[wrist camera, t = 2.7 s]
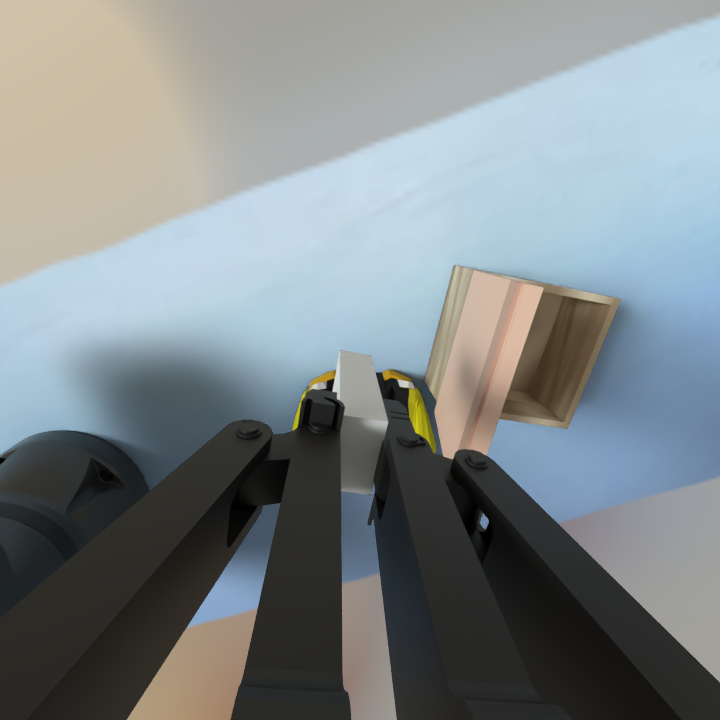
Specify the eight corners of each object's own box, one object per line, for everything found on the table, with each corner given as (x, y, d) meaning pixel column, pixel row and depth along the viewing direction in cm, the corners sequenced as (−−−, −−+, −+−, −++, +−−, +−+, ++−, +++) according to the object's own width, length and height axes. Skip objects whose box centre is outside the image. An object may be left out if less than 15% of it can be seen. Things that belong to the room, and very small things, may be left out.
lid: (443, 413, 31) (431, 411, 31) (484, 272, 27) (471, 269, 27) (468, 509, 20) (449, 505, 20) (543, 287, 16) (521, 283, 16)
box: (423, 380, 38) (442, 410, 32) (453, 265, 35) (481, 271, 28) (529, 396, 40) (567, 428, 33) (568, 287, 36) (621, 299, 29)
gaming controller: (426, 449, 41) (432, 366, 38) (439, 479, 36) (447, 386, 33) (292, 453, 40) (287, 368, 37) (286, 485, 35) (279, 390, 32)
